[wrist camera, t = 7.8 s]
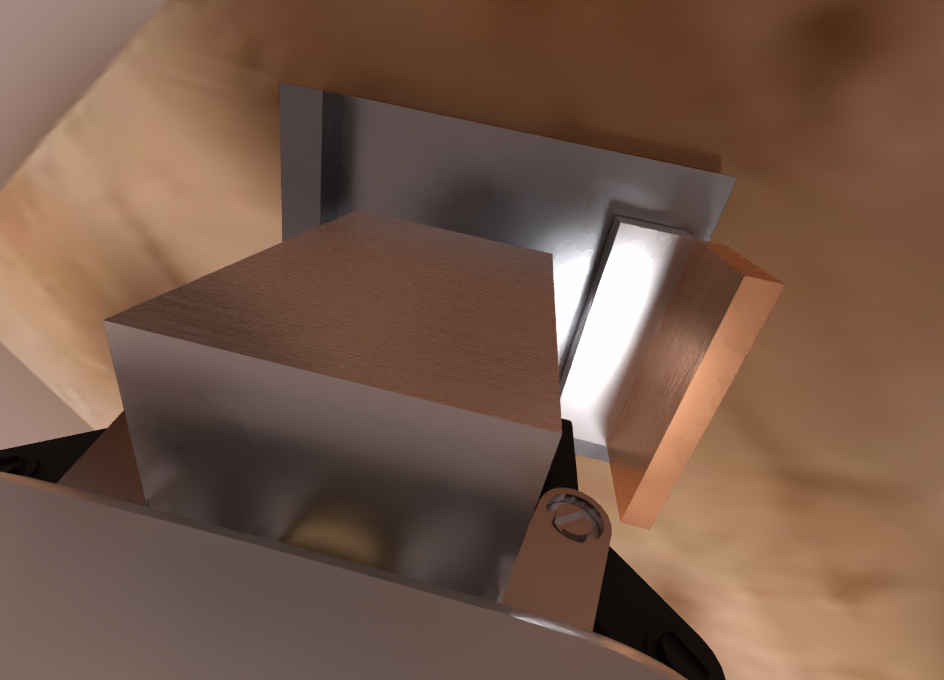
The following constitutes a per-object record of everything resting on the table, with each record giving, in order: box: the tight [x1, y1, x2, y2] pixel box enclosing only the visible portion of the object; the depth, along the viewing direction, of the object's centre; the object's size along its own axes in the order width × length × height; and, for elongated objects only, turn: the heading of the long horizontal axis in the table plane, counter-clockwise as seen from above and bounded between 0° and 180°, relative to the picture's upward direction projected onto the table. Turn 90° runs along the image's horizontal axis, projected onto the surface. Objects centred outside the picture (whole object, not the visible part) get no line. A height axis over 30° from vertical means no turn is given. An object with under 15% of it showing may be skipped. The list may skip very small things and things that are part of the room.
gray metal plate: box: [279, 82, 737, 462], centre depth 18 cm, size 16×13×3 cm
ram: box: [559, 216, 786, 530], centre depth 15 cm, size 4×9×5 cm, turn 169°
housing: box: [103, 210, 562, 602], centre depth 9 cm, size 5×8×8 cm, turn 169°
